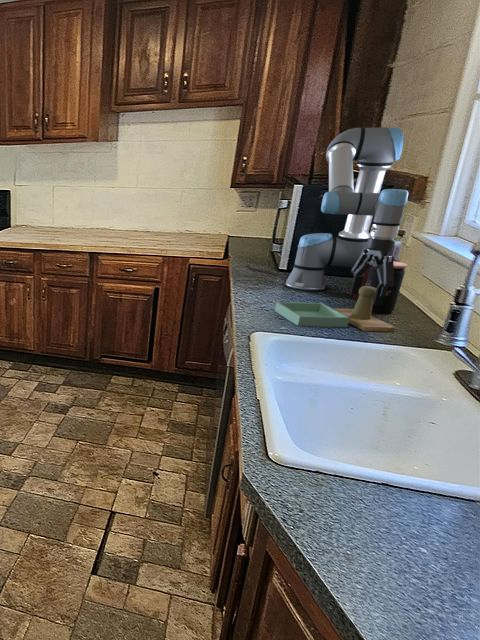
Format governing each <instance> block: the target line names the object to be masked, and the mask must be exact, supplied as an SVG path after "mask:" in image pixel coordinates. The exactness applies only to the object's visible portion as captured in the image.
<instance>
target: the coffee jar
mask: <svg viewBox="0 0 480 640" xmlns="http://www.w3.org/2000/svg"><path fill="white" fill-rule="evenodd" d="M393 266H394V286H389V287H388V288H387V291H386V295H385V297H384V300H383V304H382V305H372V313H373V314H381V315H383V314H385V315H387V314H389V315H390V314H391V313H392V312H394V311H395V307H396V304H397V300H398V297H399V294H400V291H401V287H402V285H403V280H404V277H405V274H406V270H405V269H406V268H407V266H408V264H407V263H404V262H401V261H399V262H395V261H394V263H393ZM383 283H384V282H383ZM379 284H380V283H379V278H378V273H377V269H376V268H375V266H372V267H371V268H370V271H369V275H368V278H367V282H366V286H371V287H374V288H376V289H377V287H378V285H379ZM374 297H375V296H374ZM374 297H373V301H374ZM372 313H371V314H372Z"/></svg>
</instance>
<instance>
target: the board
mask: <svg viewBox="0 0 480 640" xmlns="http://www.w3.org/2000/svg"><path fill="white" fill-rule="evenodd" d="M331 308H332V309H334V310H336V311H338V312H340V313H342V314H344V315H346V316H348V317H349V318H350V319H349V323H348V324H350V325H352V326H354V327H355V328H358V329H359V330H361V331H363V332H395V330H396V326H393V325H391V324H390V323H388V322H386V321H383V320H381V319H379V318H378V317H375V316H373V315H371V319H370V320H362V319H356V318H353V317H351V314H352V312H353V310H354V308H337V307H336V308H333V307H331Z"/></svg>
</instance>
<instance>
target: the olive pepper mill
mask: <svg viewBox="0 0 480 640" xmlns="http://www.w3.org/2000/svg"><path fill="white" fill-rule="evenodd" d="M376 290H377V289H376V288H374V287H371V286H363V287H361V288H360V289H359V295H360V296H359V298H358V299H356V303H355V305H354V308H353V309H354V310H353V312H352V314H351V317H353V318H356V319H362V320H370V319H371V316H372V304H373V297H374V296H375V294H376Z"/></svg>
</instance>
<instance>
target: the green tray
mask: <svg viewBox="0 0 480 640" xmlns="http://www.w3.org/2000/svg"><path fill="white" fill-rule="evenodd" d="M332 308H333V307H330V306H329V305H326V304H325V303H322V302H297V301H296V302H295V301H294V302H293V301H291V302H289V301H276V302H275V306H274V312H275V313H277V314H279V315H280V316H282V317H283V318H285V319H286V320H288V321H289V322H291V323H293V324H294V325H295V326H297V327H318V328H319V327H325V328H348V327H349V324H350V323H349V319H350V318H349V317H348V316H346V315H344V314H342V313H340V312H338V311H336V310H334V309H332Z"/></svg>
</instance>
